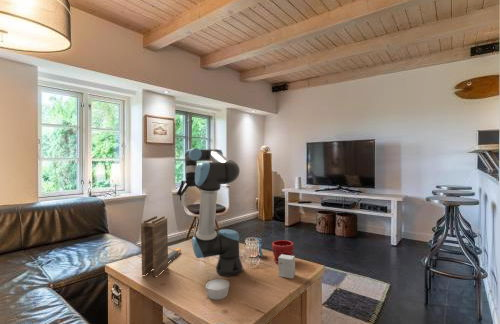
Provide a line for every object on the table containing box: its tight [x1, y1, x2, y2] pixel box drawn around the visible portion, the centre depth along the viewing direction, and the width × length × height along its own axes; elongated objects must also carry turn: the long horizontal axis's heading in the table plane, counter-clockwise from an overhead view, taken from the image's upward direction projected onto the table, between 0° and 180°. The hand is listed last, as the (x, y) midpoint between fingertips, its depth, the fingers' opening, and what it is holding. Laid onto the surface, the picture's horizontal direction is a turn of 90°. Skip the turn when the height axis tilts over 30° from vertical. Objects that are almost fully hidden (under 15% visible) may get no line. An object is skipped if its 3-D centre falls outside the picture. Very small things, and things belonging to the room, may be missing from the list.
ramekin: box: [205, 278, 230, 301], centre depth 126 cm, size 11×11×5 cm
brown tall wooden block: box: [140, 215, 169, 277], centre depth 152 cm, size 9×13×31 cm
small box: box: [277, 254, 296, 279], centre depth 145 cm, size 8×6×10 cm
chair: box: [252, 236, 263, 258], centre depth 175 cm, size 8×8×12 cm
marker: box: [168, 247, 182, 262], centre depth 172 cm, size 3×21×3 cm, turn 170°
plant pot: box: [271, 239, 294, 264], centre depth 164 cm, size 13×13×12 cm
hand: (192, 204), depth 173 cm, fingers open, 13 cm apart
